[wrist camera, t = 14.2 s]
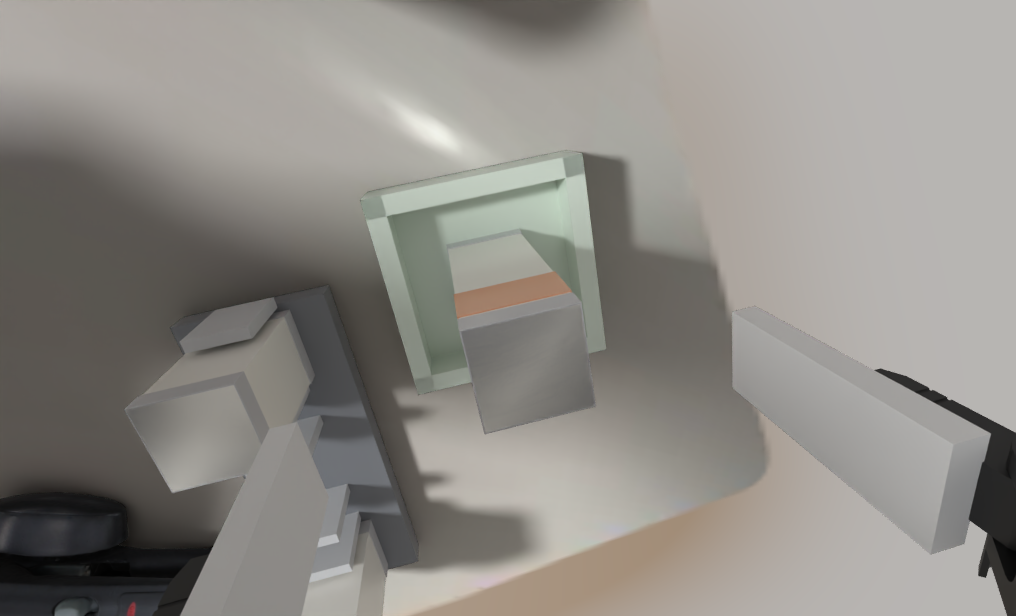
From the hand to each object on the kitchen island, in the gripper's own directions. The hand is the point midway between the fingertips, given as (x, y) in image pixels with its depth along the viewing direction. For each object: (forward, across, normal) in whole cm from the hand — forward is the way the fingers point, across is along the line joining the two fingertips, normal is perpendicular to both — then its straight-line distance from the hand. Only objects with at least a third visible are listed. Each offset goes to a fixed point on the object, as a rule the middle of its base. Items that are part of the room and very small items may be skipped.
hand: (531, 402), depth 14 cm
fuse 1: (+14, -12, -2) cm, 18 cm away
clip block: (+15, -12, -9) cm, 22 cm away
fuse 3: (+14, +1, 0) cm, 14 cm away
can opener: (+16, -24, -14) cm, 32 cm away
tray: (+15, +1, 0) cm, 15 cm away
